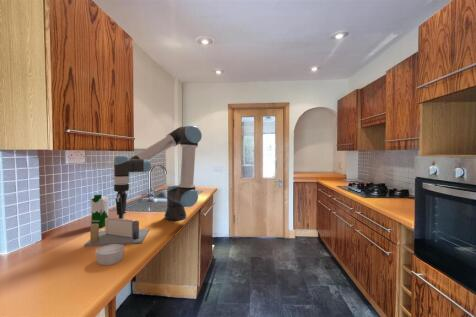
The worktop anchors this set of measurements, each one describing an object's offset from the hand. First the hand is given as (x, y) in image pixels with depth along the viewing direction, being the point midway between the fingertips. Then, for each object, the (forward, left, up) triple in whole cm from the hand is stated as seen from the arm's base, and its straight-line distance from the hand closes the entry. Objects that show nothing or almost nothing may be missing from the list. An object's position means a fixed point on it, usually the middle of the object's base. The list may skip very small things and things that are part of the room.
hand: (121, 225), depth 137 cm
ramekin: (-5, +32, -6) cm, 33 cm away
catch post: (+10, +11, -6) cm, 16 cm away
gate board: (0, +3, -6) cm, 7 cm away
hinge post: (-10, +8, -6) cm, 14 cm away
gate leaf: (0, +3, -4) cm, 5 cm away
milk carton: (+18, -21, -6) cm, 28 cm away
